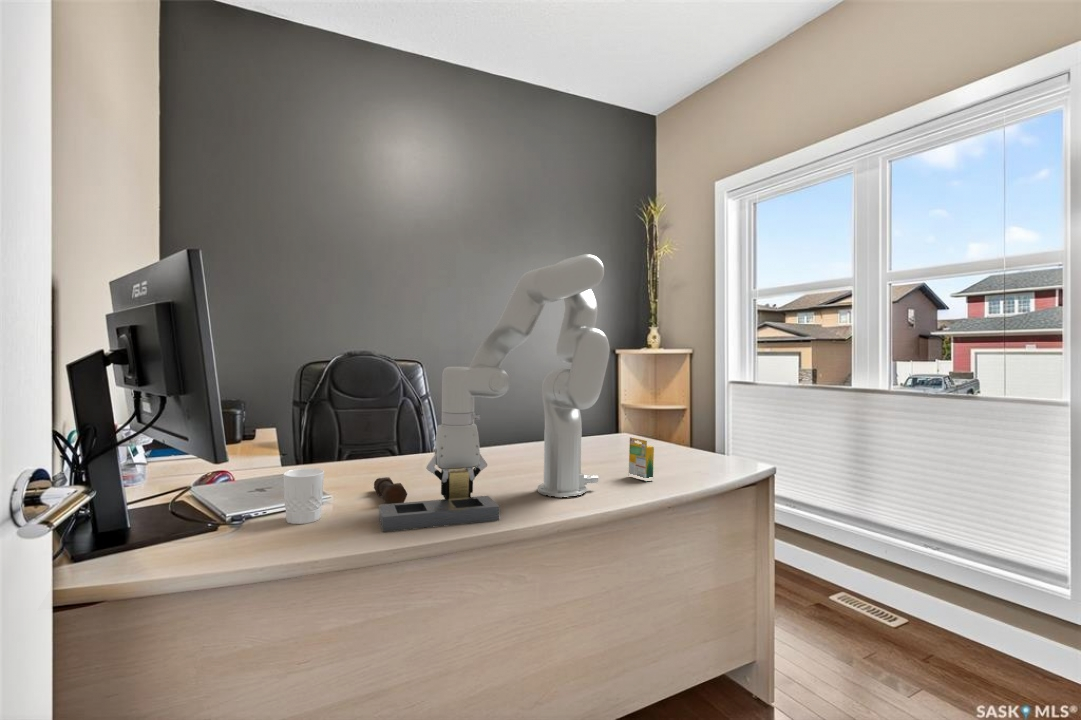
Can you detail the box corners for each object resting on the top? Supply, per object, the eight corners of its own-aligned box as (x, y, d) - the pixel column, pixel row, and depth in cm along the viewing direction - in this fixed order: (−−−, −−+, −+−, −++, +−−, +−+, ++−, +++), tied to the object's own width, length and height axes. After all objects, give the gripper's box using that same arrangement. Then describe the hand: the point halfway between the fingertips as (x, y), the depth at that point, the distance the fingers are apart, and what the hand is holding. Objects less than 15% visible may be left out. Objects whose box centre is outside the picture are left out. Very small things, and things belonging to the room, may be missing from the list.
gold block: (464, 501, 132) (464, 467, 132) (468, 506, 128) (468, 471, 127) (445, 502, 130) (445, 469, 130) (449, 508, 126) (449, 473, 126)
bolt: (382, 498, 140) (398, 511, 127) (365, 490, 138) (379, 503, 125) (394, 477, 142) (411, 488, 129) (377, 468, 140) (392, 479, 127)
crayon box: (653, 481, 155) (654, 440, 154) (645, 482, 153) (646, 440, 153) (636, 475, 161) (636, 436, 160) (628, 477, 159) (629, 437, 159)
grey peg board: (488, 508, 126) (488, 495, 126) (499, 520, 117) (499, 506, 117) (379, 518, 117) (379, 504, 117) (382, 532, 109) (382, 517, 109)
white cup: (318, 524, 113) (319, 476, 113) (278, 526, 112) (278, 477, 111) (327, 513, 121) (327, 467, 120) (289, 514, 119) (289, 468, 119)
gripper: (488, 416, 135) (487, 490, 135) (418, 418, 129) (418, 496, 129) (497, 420, 128) (496, 498, 128) (423, 422, 122) (422, 504, 122)
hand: (456, 496), depth 129 cm, fingers closed on gold block, 4 cm apart
